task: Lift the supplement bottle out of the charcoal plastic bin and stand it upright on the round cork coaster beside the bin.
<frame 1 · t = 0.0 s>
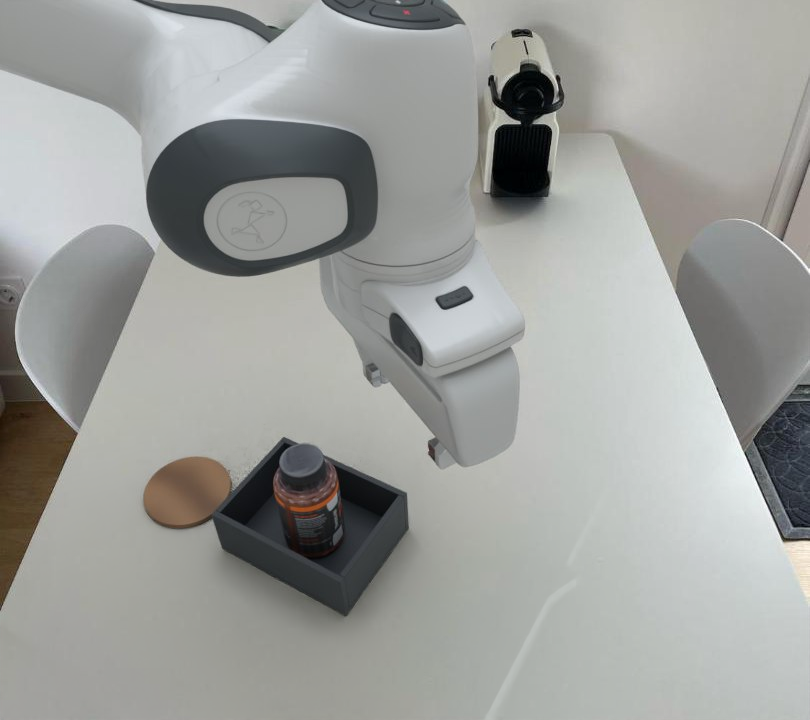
hand: (409, 417, 59), 24 cm above the table, tool pointing down, fingers open, 8 cm apart
bin: (316, 538, 80), on the table
coaster: (188, 492, 85), on the table
supplement bottle: (315, 536, 80), resting on bin
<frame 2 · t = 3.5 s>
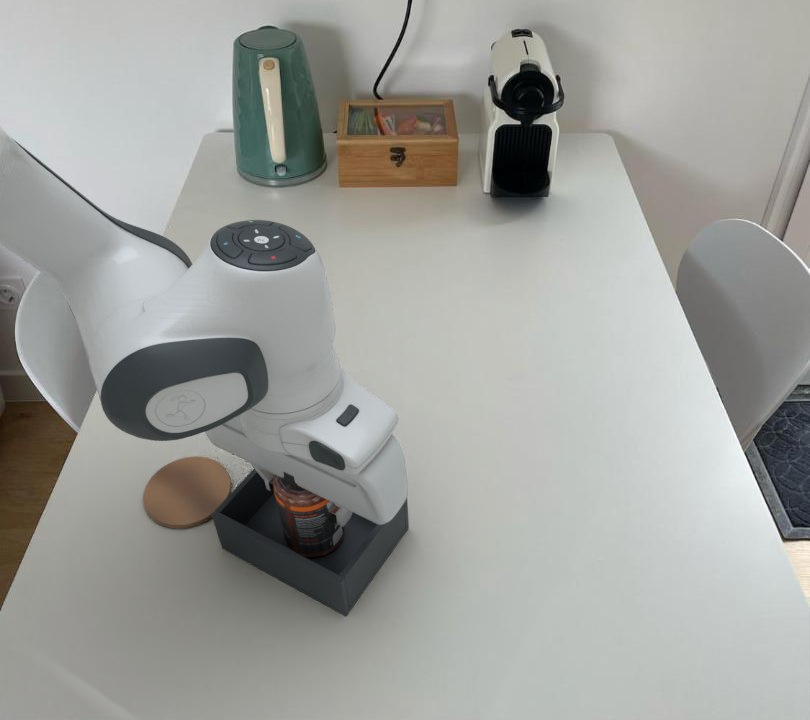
hand: (309, 503, 76), 6 cm above the table, tool pointing down, fingers closed on supplement bottle, 6 cm apart
supplement bottle: (315, 535, 80), resting on bin, touching gripper
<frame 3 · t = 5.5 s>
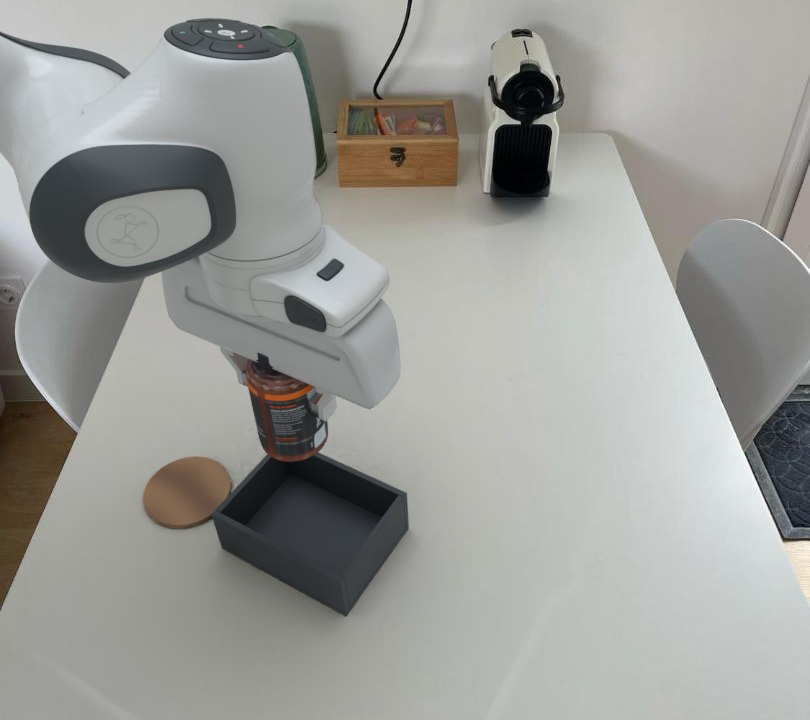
hand: (287, 397, 67), 20 cm above the table, tool pointing down, fingers closed on supplement bottle, 6 cm apart
supplement bottle: (295, 440, 70), point 15 cm above the table, touching gripper
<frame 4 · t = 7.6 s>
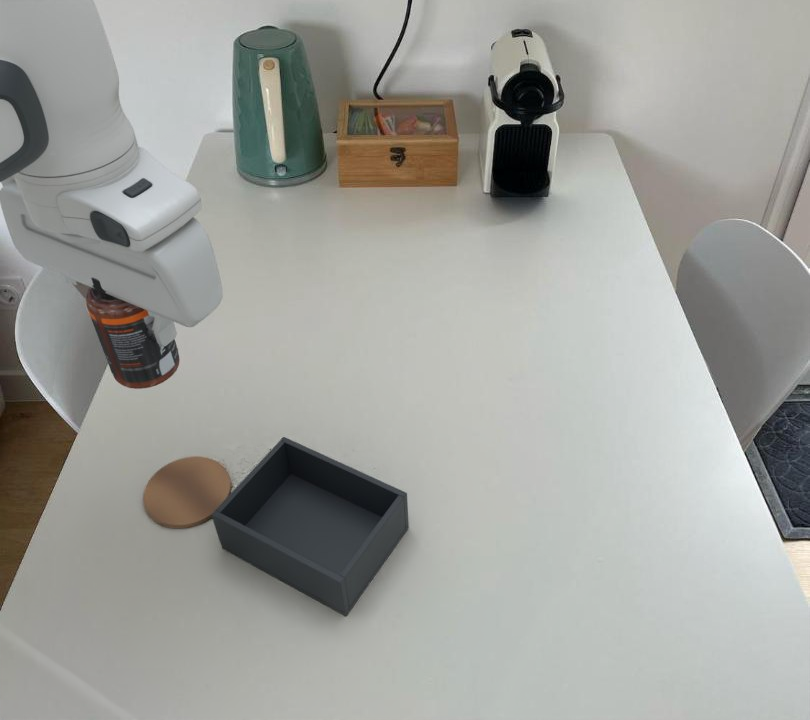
hand: (133, 326, 69), 23 cm above the table, tool pointing down, fingers closed on supplement bottle, 6 cm apart
supplement bottle: (148, 370, 73), point 18 cm above the table, touching gripper
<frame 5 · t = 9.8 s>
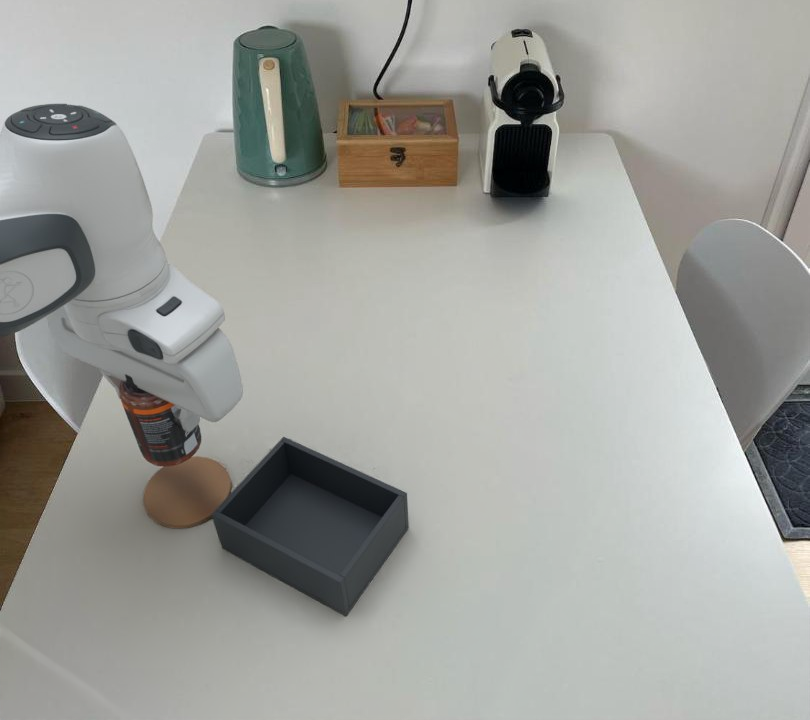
hand: (160, 411, 76), 12 cm above the table, tool pointing down, fingers closed on supplement bottle, 6 cm apart
supplement bottle: (173, 447, 80), point 7 cm above the table, touching gripper
when the fingers open (6 cm above the table, at t = 11.9 s): supplement bottle stays where it is, resting on coaster.
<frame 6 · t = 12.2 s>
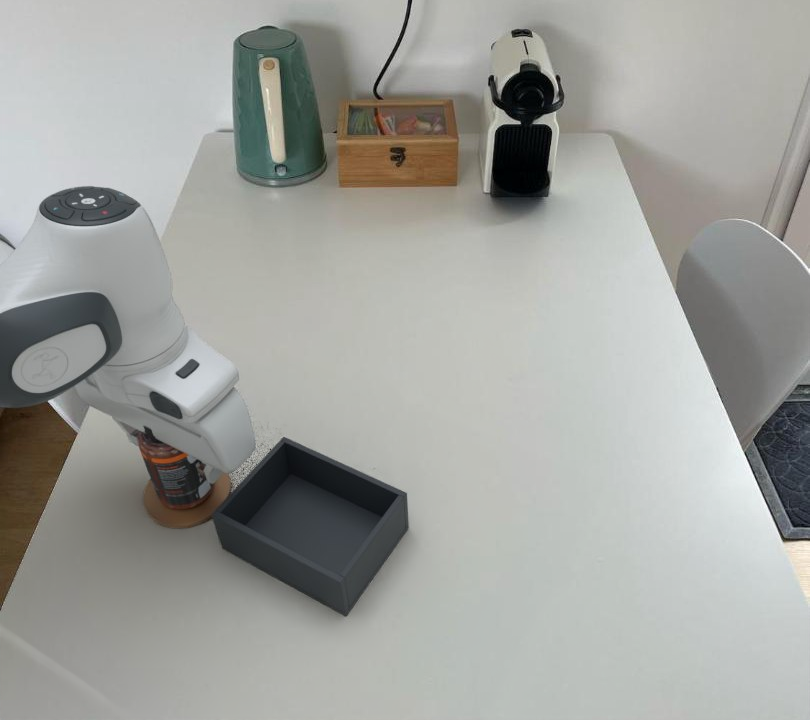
hand: (176, 458, 81), 6 cm above the table, tool pointing down, fingers open, 8 cm apart
supplement bottle: (187, 490, 84), resting on coaster
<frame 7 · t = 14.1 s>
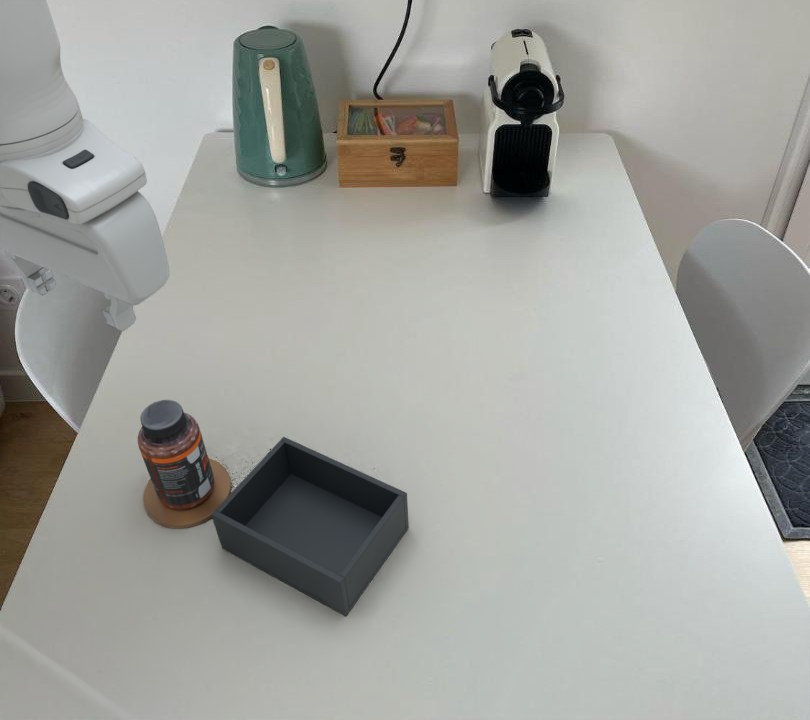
hand: (82, 306, 67), 25 cm above the table, tool pointing down, fingers open, 8 cm apart
nothing on the table moved.
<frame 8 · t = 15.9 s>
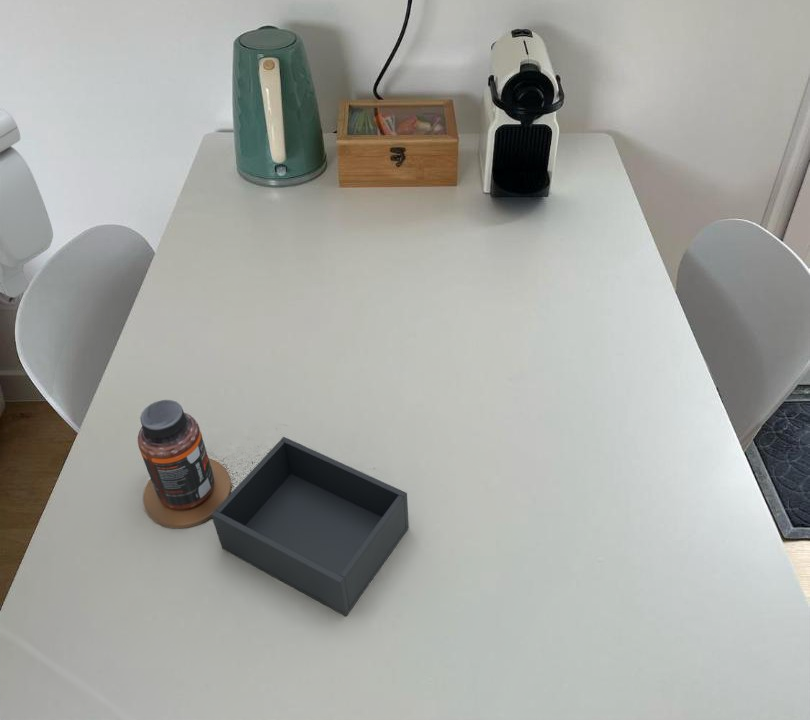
nothing on the table moved.
at the end: supplement bottle 0.0 cm off-centre on the coaster, point 0.4 cm above the coaster's base; supplement bottle tilted 0°; supplement bottle touching coaster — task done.
